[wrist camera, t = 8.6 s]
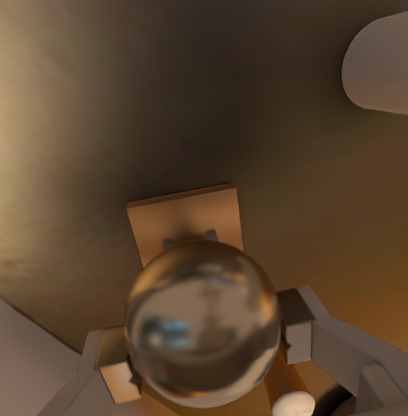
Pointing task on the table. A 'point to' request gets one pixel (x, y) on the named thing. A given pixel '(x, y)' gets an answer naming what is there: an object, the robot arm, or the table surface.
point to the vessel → (346, 407)
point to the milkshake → (287, 390)
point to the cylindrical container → (379, 65)
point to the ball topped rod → (202, 324)
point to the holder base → (185, 219)
